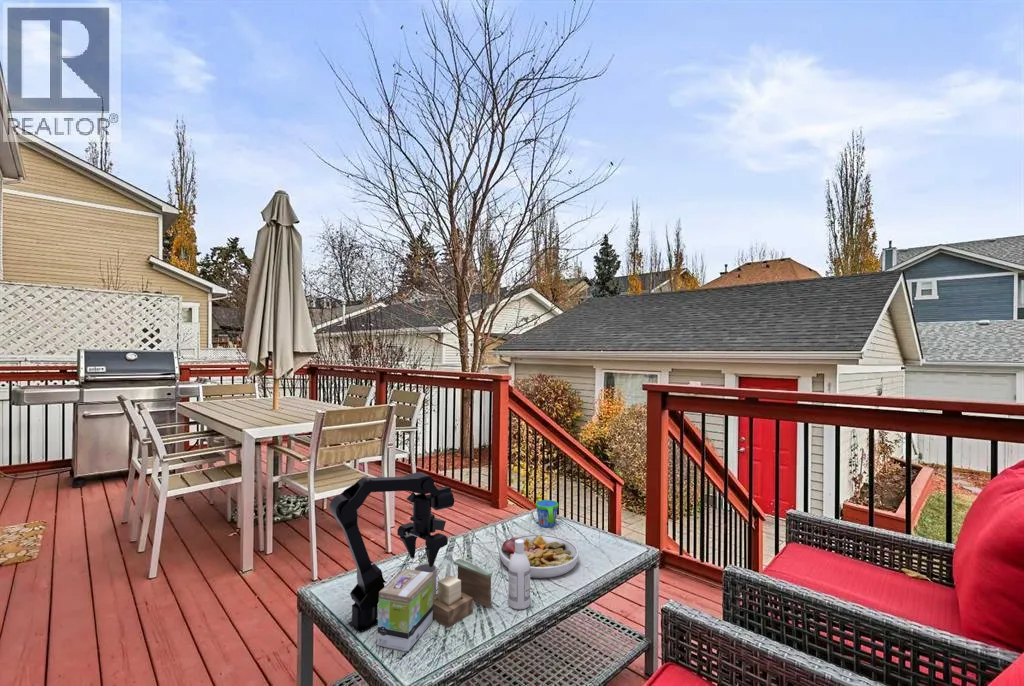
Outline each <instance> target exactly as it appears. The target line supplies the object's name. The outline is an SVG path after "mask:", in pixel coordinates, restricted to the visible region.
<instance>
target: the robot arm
mask: <svg viewBox="0 0 1024 686" xmlns="http://www.w3.org/2000/svg"><path fill="white" fill-rule="evenodd" d="M402 491H403V492H404V491H405V492H411V493H410V495H408V496H407V497H406V500H407V501H408V502H410V503H411V504H412V503H413V504H412V508H413V509H412V516H410V517H409V520H410V522H407V523H404V524H401V525H399V526H398V527H397V529H396V530H397V532H396V533H397V536H399V539H401V541H402V543H403V545H404V547H405V549H406V550H407V553H408V555H409V557H410V559H412V560H413V559H415V557H416V545H417V539H418V538H419V539H422V540H423V541H424V542H425V543H424V544H425V546H426V547H425V548H424V551H425V554H426V560H427V564H429V567H432V566H433V565H434V564H435V561H436V558H437V555H438V554H439V551H440V549H442V548H444V547H446V546H448V544H449V540H448V539H449V538H448V536H447V535H445V534H443V533H439V532H437V533H436V531H441V532H444V530H445V526H446V523H447V521H446V520H445V519H440V518H439V517H435V516H436V515H435V513H432V509H433V510H435V511H440V510H444V509H450V508H452V507H453V506H454V505H455V498H454V494H453V492H452V488H451V487H450V486H447V485H446V486H443V487H440V488H439V487H437V486H436V485H435V480H434V478H433V476H430V475H429V474H426V473H425V472H421V471H418V472H413V473H408V474H407V475H405V476H386V477H385V476H384V477H380V476H379V477H368V476H363V477H361V478H360V479H358V480H357V481H356V482H355V483H353V484H352V485H350V486H349V487H347V488H346V489H345V490H344V491H342V492H341V493H340V494H338V495H336V496H334V497H333V498H332V499H331V500H330V503H329V505H328V506H329V510H330V512H331V514H332V515H333V517H334V519H335V520H336V521H337V523H338V524H339V526H340V527H341V528H342V532H343V535H344V537H345V540H346V543H347V545H348V548H349V552H350V553H351V556H352V558H353V562H354V565H355V567H356V580H357V584H356V585H355V586H354V587H353V588H352V590H351V591H350V593H349V594H350V597H351V599H352V600H353V602H354V603H353V604H352V605H351V621H349V622H348V625H349V624H350V625H351V626H350V625H349V626H350V627H351V628H353V627H354V628H355V629H354V628H353V629H354V630H356V631H357V632H358V631H359V632H358V633H362V632H366V631H367V630H369V629H371V628H372V627H374V626H376V625H377V626H378V606H379V591H381V590H382V589H383V588H384V587H385V586H386V585H385V583H386V582H387V581H386V580H385V579H384V577H383V571H382V569H380V568H379V566H378V565H377V564H375V563H372V562H371V559H370V556H369V553H368V550H367V547H366V545H365V542H364V539H363V537H362V534H361V531H360V528H359V525H358V524H359V523H358V519H359V516H358V509H360V508H361V506H362V505H363V504H364V502H365V501H366V499H367V498H368V496H369V495H371V493H386V492H387V493H388V492H402ZM431 533H432V534H433V535H432V534H431ZM434 533H435V534H434Z"/></svg>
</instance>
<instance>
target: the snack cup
mask: <svg viewBox="0 0 1024 686" xmlns="http://www.w3.org/2000/svg"><path fill="white" fill-rule="evenodd" d="M535 508H536V513H537V519H538V520H537V521H538V524H539V525H540V527H543V528H552V527H555V526H556V523H557V522H556V520H557V516H558V515H557V514H558V508H559V502H557V501H556V500H551V499H541V500H538V501H536V502H535Z"/></svg>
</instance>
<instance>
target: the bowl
mask: <svg viewBox="0 0 1024 686" xmlns="http://www.w3.org/2000/svg"><path fill="white" fill-rule="evenodd" d="M518 539H521V540H524V553H525V554H526V556H527V558H528V560H529V563H530V578H534V579H535V578H536V579H547V578H555V577H559V576H562V575H565V574H567V573H568V572H570V571H571V570H573V568H574V567H575V566H576V565H577V563H578V560H579V550H578V547H577V546H576V545H575V544H574V543H573V542H571V541H569V540H567V539H565V538H562V537H558V536H555V535H548V534H526V535H520V536H519V535H518V536H515V537H514V536H513V537H511V538H510V539H506V540H505V541H504V542H503V543H502V544H501V546H500V548H499V556H500V559H501V562H502V563H503V565H504V566H505V567H506V568H507V569H508V570H509V562H510V559H511V557H512V556H513V554H514V553H515V540H518Z"/></svg>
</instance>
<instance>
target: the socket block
mask: <svg viewBox="0 0 1024 686" xmlns="http://www.w3.org/2000/svg"><path fill="white" fill-rule="evenodd" d="M453 565H455V566H457V579H459V580H461V600H460V601H458V602H456V603H454V604H453V605H451V606H447V605H445V604H443V603H441V602H439V601H438V593H436V595H434V596H433V620H434V621H435V622H438V623H440V624H441V625H443V626H445V627H447V628H449V627H450V628H451V626H453V625H455V624H457V623H458V622H460V621H462V620H464V619H465V618H467V617H468V616H469V615H471V614H473V613H474V602H475V603H477V604H479V605H481V606H483V607H485V608H487V609H490V608H491V607H492V576H493V572H492V571H490V570H488V569H485V568H482V567H480V566H478V565H476V564H474V563H471V562H468V561H466V560H464V559H461V558H458V559H456V560H454V561H453Z"/></svg>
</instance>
